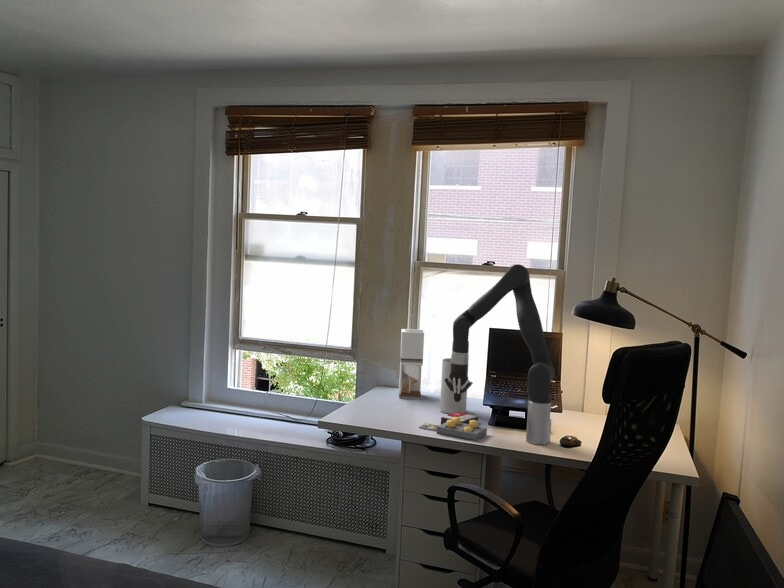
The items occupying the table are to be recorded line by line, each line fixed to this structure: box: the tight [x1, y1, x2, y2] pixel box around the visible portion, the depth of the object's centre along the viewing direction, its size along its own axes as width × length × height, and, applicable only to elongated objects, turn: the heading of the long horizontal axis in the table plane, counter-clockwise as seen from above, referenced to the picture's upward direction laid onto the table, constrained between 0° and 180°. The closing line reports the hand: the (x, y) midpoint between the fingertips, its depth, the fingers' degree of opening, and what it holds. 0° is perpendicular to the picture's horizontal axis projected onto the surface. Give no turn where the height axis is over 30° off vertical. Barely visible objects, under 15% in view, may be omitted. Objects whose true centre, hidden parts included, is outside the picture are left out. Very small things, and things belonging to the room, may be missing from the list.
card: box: [418, 422, 439, 432], centre depth 286 cm, size 8×7×1 cm
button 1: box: [447, 420, 455, 429], centre depth 278 cm, size 4×4×3 cm
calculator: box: [440, 412, 479, 425], centre depth 294 cm, size 11×4×15 cm
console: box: [436, 422, 488, 442], centre depth 278 cm, size 18×12×3 cm, turn 60°
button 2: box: [452, 417, 461, 426], centre depth 282 cm, size 4×4×3 cm
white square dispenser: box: [398, 328, 425, 400], centre depth 341 cm, size 11×11×35 cm
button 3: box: [464, 427, 473, 432], centre depth 274 cm, size 4×4×3 cm
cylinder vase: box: [439, 357, 470, 415], centre depth 314 cm, size 12×12×25 cm
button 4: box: [469, 420, 479, 429], centre depth 278 cm, size 4×4×3 cm
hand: (457, 401), depth 282 cm, fingers closed
